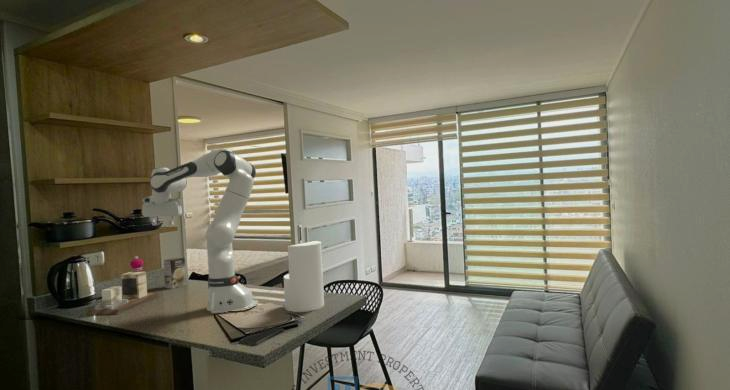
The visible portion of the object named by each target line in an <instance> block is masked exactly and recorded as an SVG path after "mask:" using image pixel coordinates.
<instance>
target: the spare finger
mask: <svg viewBox="0 0 730 390" xmlns="http://www.w3.org/2000/svg"><path fill="white" fill-rule="evenodd" d="M101 301H102V303H101V304H102V305H113V304H116V303H118V302H121V301H122V285H120V286H119V285H118V286H117V285H116V286H110V287H107V288H104V289H102V290H101Z"/></svg>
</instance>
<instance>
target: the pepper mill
mask: <svg viewBox="0 0 730 390" xmlns="http://www.w3.org/2000/svg"><path fill="white" fill-rule="evenodd" d="M143 264H144V262H143V260H142V259H140V258H139V256H138V255H136V256H134V259H132V260H131V261H130V264H129V266H130V267H131V272H142V271H143V267H142V266H143Z"/></svg>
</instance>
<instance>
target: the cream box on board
mask: <svg viewBox="0 0 730 390" xmlns="http://www.w3.org/2000/svg"><path fill="white" fill-rule="evenodd" d="M120 280H121V283H120V284H121V290H122V301H121V302H118V303H116V304H113V305H102V303H99V304H97V305H95V306H94V307H92V308H91V307H90V308H88V309H86V315H119V314H121V313H123V312H126V311H128V310H131V309H133V308H135V307H137V306H140V305H142V304H144V303H147V302H149V301H151V300H153V299H156V298H158V297H159V292H148V286H147V285H148V284H147V283H148V282H147V272H146V271H141V272H133V271H128V272H126V273H122V274H120Z"/></svg>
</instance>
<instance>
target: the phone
mask: <svg viewBox="0 0 730 390" xmlns="http://www.w3.org/2000/svg"><path fill="white" fill-rule="evenodd" d="M275 327H276V326H275ZM284 330H285V329H284V328H281V327H276V328H274V329H271V330H268V331H264V332H261V333H257V334H254V333H253V334H254V335H252V334H250V336H249V335H248V336H246V337H243V338H241V339H240V340H239V344H244V345H246V346H250V347H251V346H252V347H255V346H258V345H260V344H262V343H265V342H267V341H268V340H270V339H272V338H274V337H276V336H278V335H280V334H282V333H284Z"/></svg>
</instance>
